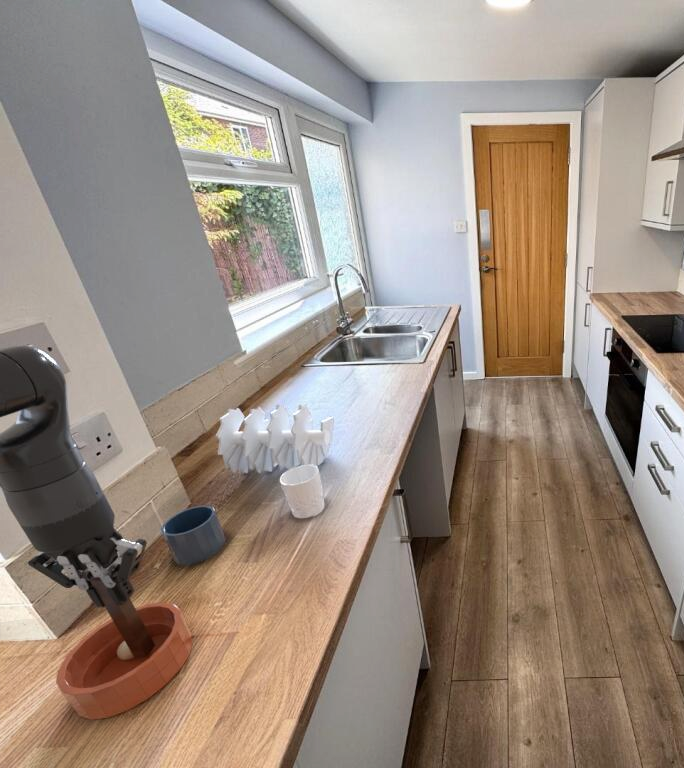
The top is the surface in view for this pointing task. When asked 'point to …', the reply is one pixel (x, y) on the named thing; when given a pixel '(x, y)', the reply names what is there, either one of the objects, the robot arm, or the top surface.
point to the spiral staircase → (272, 440)
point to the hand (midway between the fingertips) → (116, 600)
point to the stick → (126, 621)
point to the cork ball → (124, 652)
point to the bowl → (124, 664)
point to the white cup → (303, 490)
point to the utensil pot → (193, 535)
